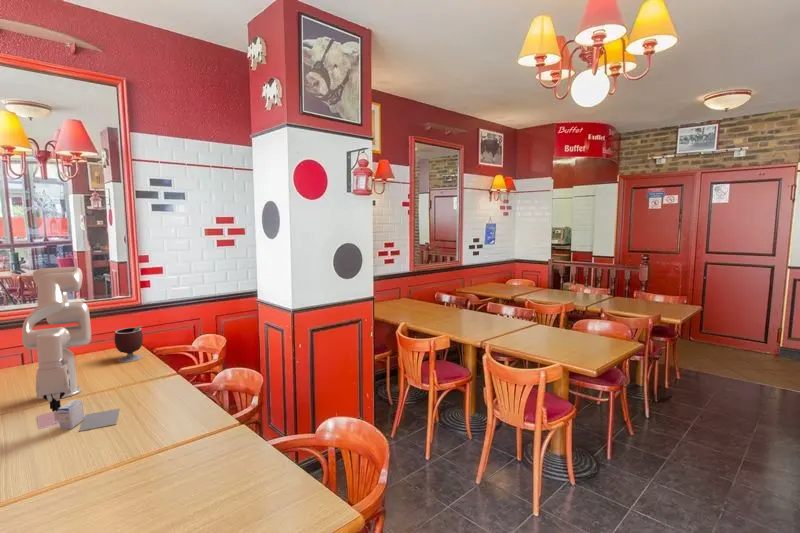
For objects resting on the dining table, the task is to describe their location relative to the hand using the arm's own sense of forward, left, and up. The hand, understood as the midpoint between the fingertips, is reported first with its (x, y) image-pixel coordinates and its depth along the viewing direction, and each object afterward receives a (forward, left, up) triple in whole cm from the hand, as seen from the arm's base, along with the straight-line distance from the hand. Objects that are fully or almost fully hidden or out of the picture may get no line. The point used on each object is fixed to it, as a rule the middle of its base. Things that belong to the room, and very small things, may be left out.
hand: (55, 409), depth 168 cm
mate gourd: (-83, +20, -8) cm, 86 cm away
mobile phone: (-10, -4, -8) cm, 14 cm away
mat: (0, +14, -7) cm, 16 cm away
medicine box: (0, +5, -7) cm, 9 cm away
